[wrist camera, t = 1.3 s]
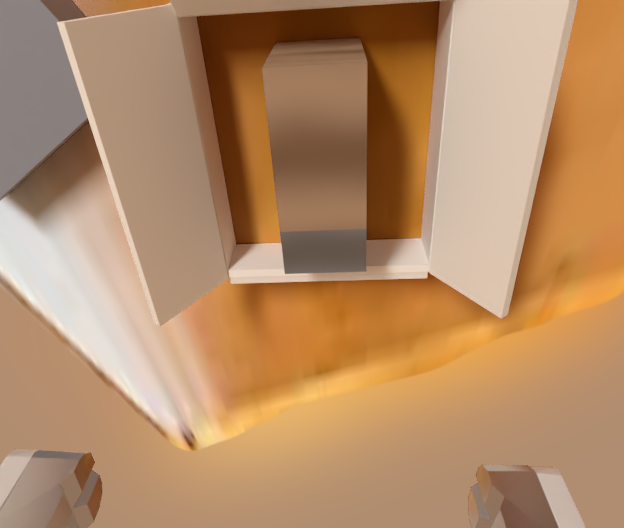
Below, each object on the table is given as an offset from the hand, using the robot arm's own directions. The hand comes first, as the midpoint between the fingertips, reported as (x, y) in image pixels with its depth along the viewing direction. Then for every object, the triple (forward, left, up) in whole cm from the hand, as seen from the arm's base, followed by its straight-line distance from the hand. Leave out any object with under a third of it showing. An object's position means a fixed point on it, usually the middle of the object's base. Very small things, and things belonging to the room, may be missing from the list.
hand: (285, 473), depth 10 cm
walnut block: (+1, +1, -25) cm, 25 cm away
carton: (0, 0, -25) cm, 25 cm away
